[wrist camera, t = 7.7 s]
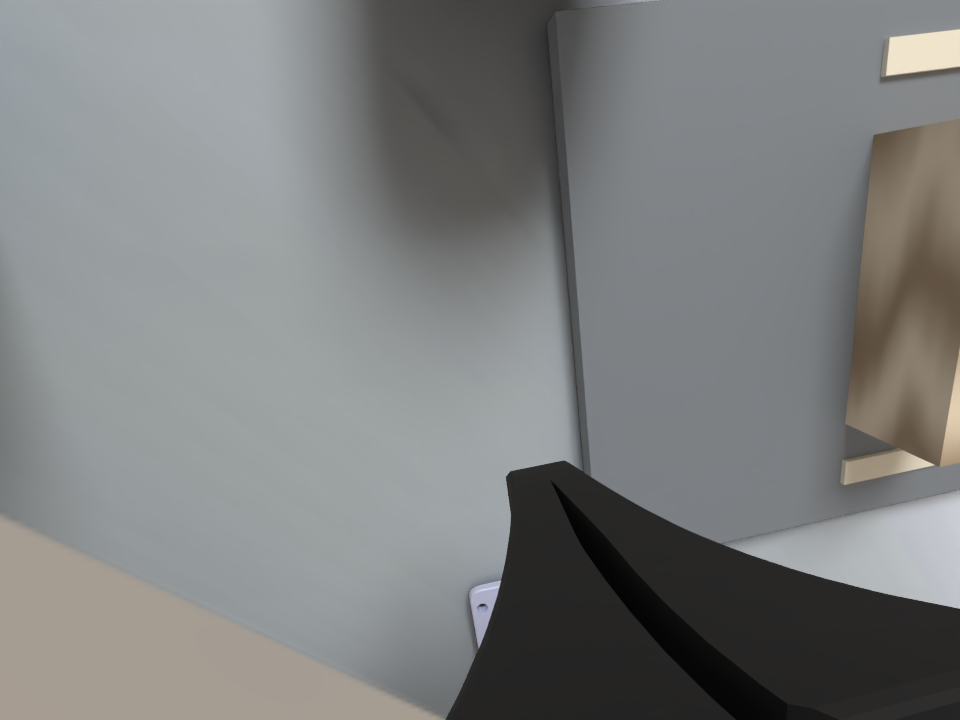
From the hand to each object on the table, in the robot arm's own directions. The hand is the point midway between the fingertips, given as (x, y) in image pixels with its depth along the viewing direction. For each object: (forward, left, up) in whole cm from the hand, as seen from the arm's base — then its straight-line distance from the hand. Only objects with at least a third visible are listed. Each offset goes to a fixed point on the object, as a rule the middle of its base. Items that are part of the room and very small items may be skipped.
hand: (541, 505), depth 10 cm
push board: (+1, -18, -9) cm, 20 cm away
